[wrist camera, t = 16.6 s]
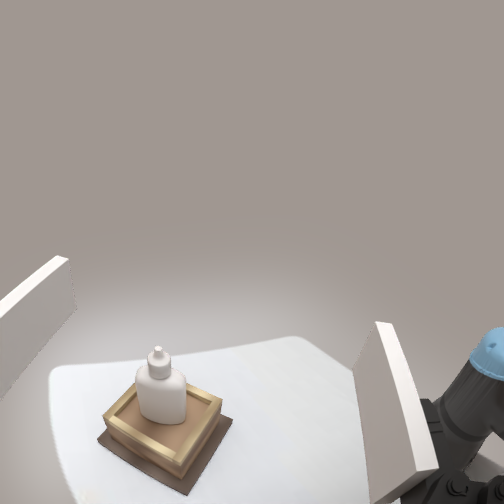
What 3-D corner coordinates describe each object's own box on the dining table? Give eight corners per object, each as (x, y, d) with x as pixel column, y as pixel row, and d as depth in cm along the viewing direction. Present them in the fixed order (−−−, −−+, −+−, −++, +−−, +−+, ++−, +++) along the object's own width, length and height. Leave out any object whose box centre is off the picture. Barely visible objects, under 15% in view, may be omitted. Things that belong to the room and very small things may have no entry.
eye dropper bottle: (157, 392, 36) (152, 325, 31) (191, 415, 34) (194, 350, 29) (135, 411, 32) (123, 345, 27) (170, 436, 30) (165, 375, 25)
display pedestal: (232, 422, 40) (237, 396, 37) (187, 495, 28) (185, 478, 25) (152, 384, 44) (149, 354, 41) (98, 442, 31) (86, 416, 28)
